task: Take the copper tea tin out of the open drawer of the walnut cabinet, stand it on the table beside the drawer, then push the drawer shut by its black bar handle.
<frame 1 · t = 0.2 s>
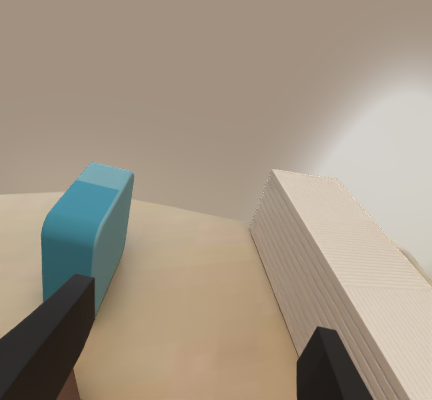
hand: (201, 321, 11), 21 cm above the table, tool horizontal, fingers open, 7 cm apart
stack of papers: (320, 315, 42), on the table
data package: (89, 281, 38), on the table
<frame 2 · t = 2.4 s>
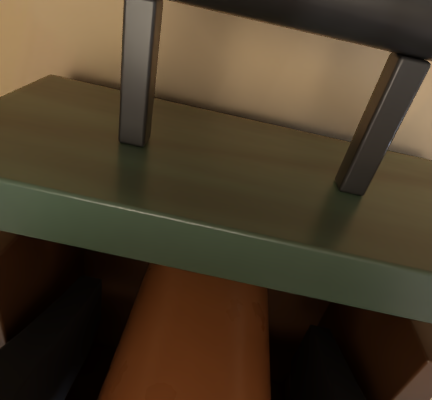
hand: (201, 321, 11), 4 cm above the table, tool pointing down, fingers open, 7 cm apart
drawer: (211, 276, 10), point 4 cm above the table, slide at 7.5 cm, touching gripper, tea tin
tea tin: (207, 276, 13), point 2 cm above the table, touching drawer
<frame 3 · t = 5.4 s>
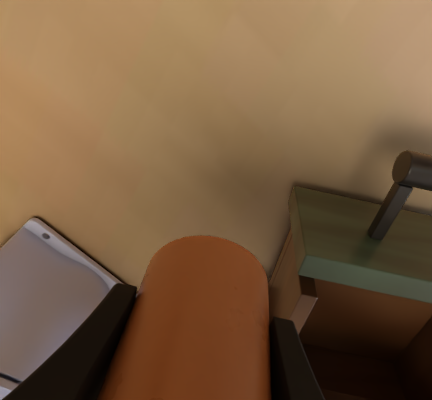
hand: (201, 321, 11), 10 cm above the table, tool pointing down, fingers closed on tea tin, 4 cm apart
drawer: (384, 297, 19), point 4 cm above the table, slide at 7.5 cm
tea tin: (207, 282, 13), point 9 cm above the table, touching gripper
when the fingers open (2 cm above the table, at t = 8.1 s): tea tin stays where it is, on the table.
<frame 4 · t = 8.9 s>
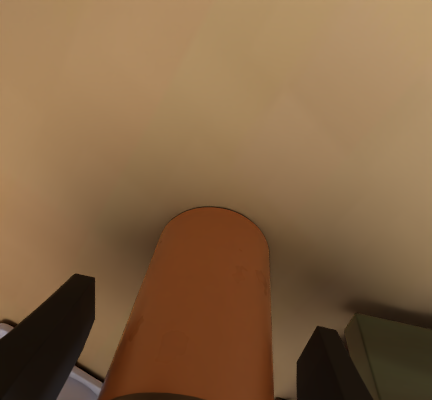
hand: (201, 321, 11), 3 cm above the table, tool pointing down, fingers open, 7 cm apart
tea tin: (213, 251, 14), on the table
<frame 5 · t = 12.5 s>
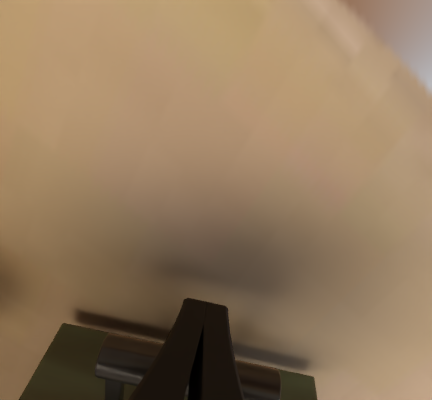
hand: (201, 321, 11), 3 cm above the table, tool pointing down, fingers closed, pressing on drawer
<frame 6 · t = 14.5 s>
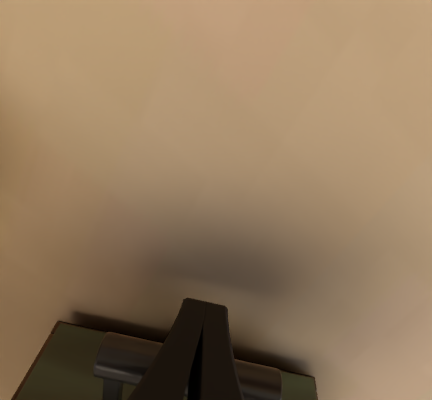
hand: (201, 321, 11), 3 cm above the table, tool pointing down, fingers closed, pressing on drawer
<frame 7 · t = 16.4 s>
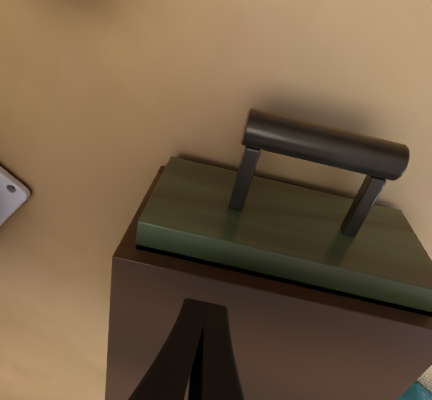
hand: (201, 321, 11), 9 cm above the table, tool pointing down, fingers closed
drawer: (265, 277, 17), point 4 cm above the table, slide at 0.0 cm, touching cabinet
cabinet: (248, 277, 23), on the table
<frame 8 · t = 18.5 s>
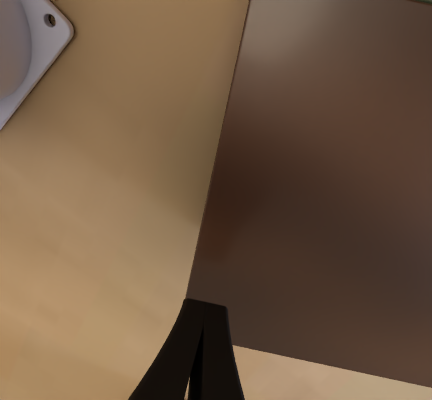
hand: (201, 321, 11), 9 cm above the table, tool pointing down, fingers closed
drawer: (419, 105, 12), point 4 cm above the table, slide at 0.0 cm, touching cabinet
cabinet: (352, 156, 18), on the table
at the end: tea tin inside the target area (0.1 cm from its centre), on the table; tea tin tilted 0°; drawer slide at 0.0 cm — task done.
